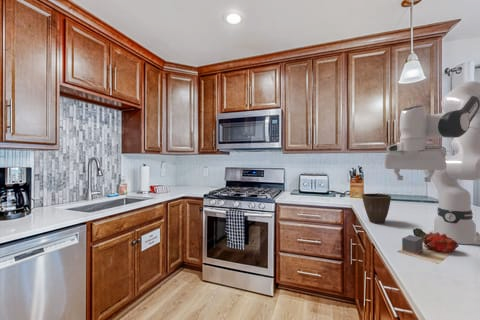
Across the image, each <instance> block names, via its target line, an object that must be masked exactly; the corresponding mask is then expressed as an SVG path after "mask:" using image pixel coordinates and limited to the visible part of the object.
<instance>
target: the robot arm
mask: <svg viewBox="0 0 480 320" xmlns="http://www.w3.org/2000/svg"><path fill="white" fill-rule="evenodd" d="M441 108H442V110H443V111H444V112H441V113H433V114H429V113H427V112H426V107H425V106H424V105H416V106H410V107H405V108H403V109H402V110H401V112H400V116H399V131H400V137H399V142H397V143H395V144H392V145H389V146H387V147H386V152H387V153H386V154H385V156H384V168H385V169H387V170H393V171H394V173H395V174H394V175H396V177H397V178H396V179H397V181H403V180H404V176H403V175H401V174H400V172H401V170H409V171H411V170H416V171H418V170H419V171H423V172H424V174H425V175H426V177H425V176H424V182H425V183H431V182H433V183H434V185H435V187H436V190H437V195H438V196H437V197H438V207H437V216H436V217H434V218H433V226H432V227H433V228H432V231H430V232H432V233H436V232H437V233H438V232H439V233H440V235H442V234H446V236H447V237H448V238H452V240H454V241H456V242H457V244H461V245H476V246H477V245H478V246H480V233H479V232H477V224H476V223H475V221H474V220H473V218H474V217H473V209H472V202H471V198H472V197H471V193H470V192H469V191H468V190H467V189H466V188H463V187H462V186H461V185H460V184H459V182H458V180H462V181H463V180H464V181H479V180H480V82H478V81H473V80H470V81H466V82H464V83H462V84H459V85H458V86H455V87H454V88H453V89H452V90H450V91H449V92H448V93H446V94H445V95H444V96H443V98H442V100H441ZM441 138H442V139H444V138H450V139H451V138H452V140H451V143H450V145H451V149H452V150H453V151H454V152H456V154H455V155H447V149H446V147H444V146H442V145H428V139H441ZM428 234H430V233H428Z"/></svg>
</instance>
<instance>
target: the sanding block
mask: <svg viewBox="0 0 480 320" xmlns="http://www.w3.org/2000/svg"><path fill="white" fill-rule="evenodd" d="M401 239H402V240H401V241H402V242H401V244H402V245H401V246H402V248H401V249H402V251H404V252H408V253H411V254H415V255H416V254H417V253H419V252H421V251H423V249H424V243H423V238H421V237H417V236H415V235H412V234H408V235H407V236H404V237H403V238H401Z"/></svg>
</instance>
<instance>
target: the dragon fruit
mask: <svg viewBox="0 0 480 320" xmlns="http://www.w3.org/2000/svg"><path fill="white" fill-rule="evenodd" d="M429 233H430V234H429ZM429 233H426V236H423V247H424V248H425V249H431V251H435V252H439V253H444V254H446V253H449V252H454V251H455V250H456V249H458V248H459V246H460V245H459V243H457V242H456V241H454V240H452V238H448V237H447V236H446V234H442V235H440V233H439V232H438V233H437V232H436V233H432V232H431V231H429Z"/></svg>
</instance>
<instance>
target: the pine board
mask: <svg viewBox="0 0 480 320" xmlns="http://www.w3.org/2000/svg"><path fill="white" fill-rule="evenodd" d="M396 252H397V253H401V254H404V255H408V256H410V257H414V258H417V259H420V260H424V261H428V262H431V263H435V264H440V263H441V262H443V261H444V260H445V259H446V258H448V257H449V256H450V255H449V254H446V253H444V252H441V253H439V252H437V251H435V250H432V249H431V250H430V249H428V248H423V251H421V252H419V253H417V254H416V255H415V254H411V253H408V252H404V251H402V248H401V249H399V250H396Z"/></svg>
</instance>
